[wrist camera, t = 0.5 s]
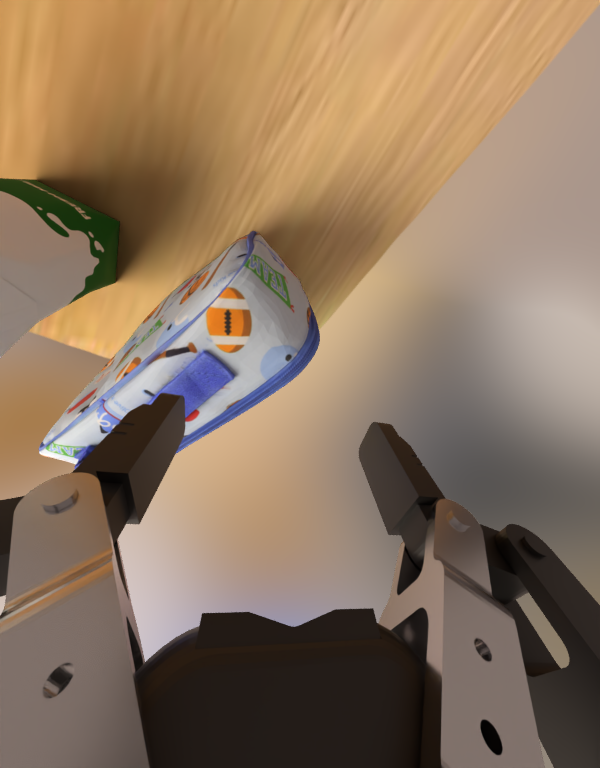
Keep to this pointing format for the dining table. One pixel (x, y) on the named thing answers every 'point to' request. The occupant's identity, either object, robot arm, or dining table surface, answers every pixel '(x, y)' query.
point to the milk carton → (48, 254)
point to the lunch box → (201, 351)
